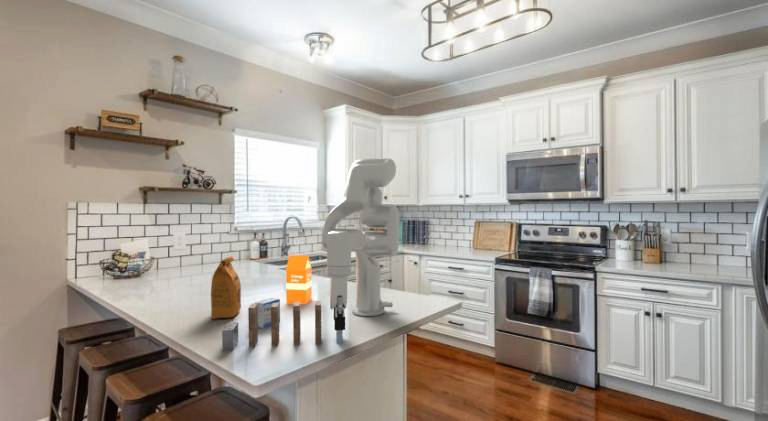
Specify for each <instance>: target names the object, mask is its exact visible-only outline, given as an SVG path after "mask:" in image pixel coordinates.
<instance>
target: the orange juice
mask: <svg viewBox="0 0 768 421" xmlns="http://www.w3.org/2000/svg"><path fill="white" fill-rule="evenodd" d="M285 272H286V273H285V280H286V281H285V282H286V283H285V288H286V290H285V291H286V294H285V295H286V297H285V298H286V299H285V300H286V301H285V302H286V304H294V302H300V305H303V304H308V303H309V302H310V301H312V298H313V297H312V296H313V295H312V294H313V292H312V291H313V290H312V289H313V288H312V285H313V284H312V283H313V282H312V264H311V260H310V257H309V255H294V254H293V255H292V254H290V255H288V260H287V265H286V269H285Z"/></svg>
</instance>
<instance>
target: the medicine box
mask: <svg viewBox="0 0 768 421" xmlns="http://www.w3.org/2000/svg"><path fill="white" fill-rule="evenodd" d="M278 302H279V324H280V323H281V300H280V298H276V297H271V298H266V299H263V300H259V301H255V302H254V303H258V328H259V329H264V330H265V329H266V328H269V327H271V306H272V304H273V303H278Z"/></svg>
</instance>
